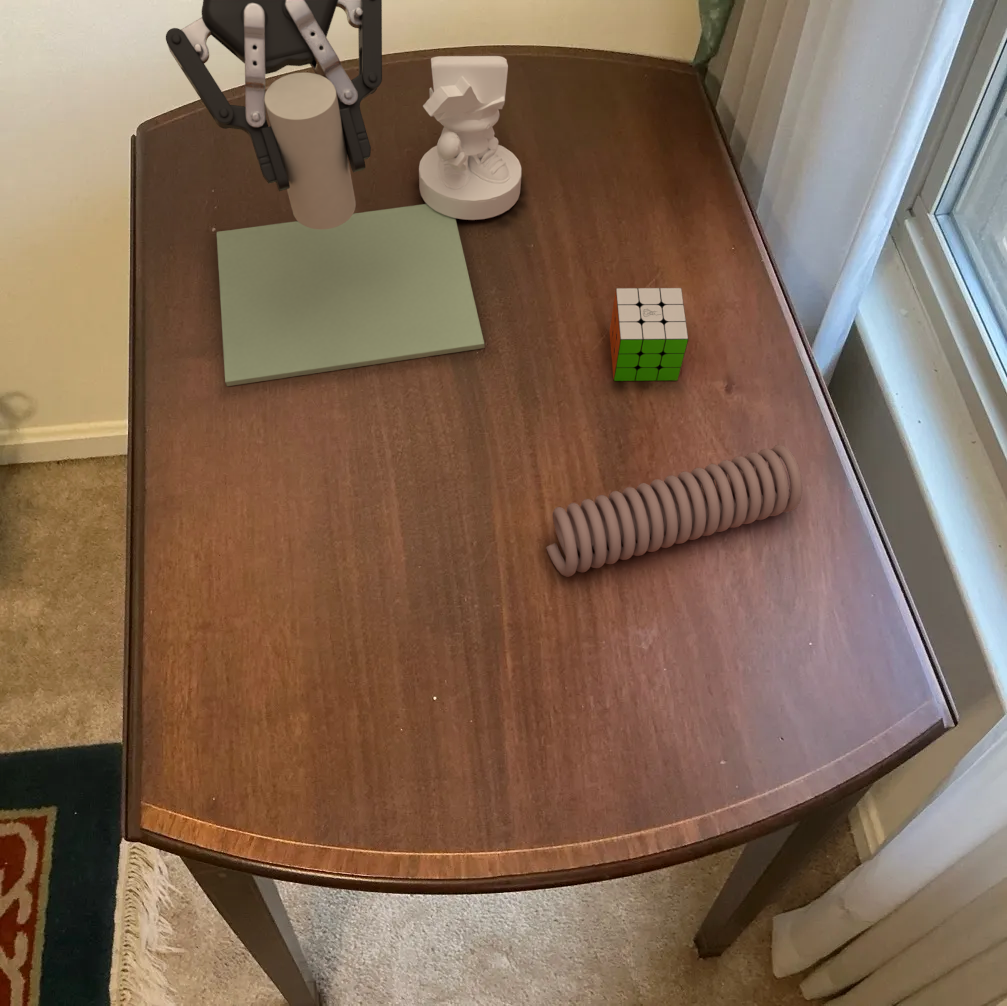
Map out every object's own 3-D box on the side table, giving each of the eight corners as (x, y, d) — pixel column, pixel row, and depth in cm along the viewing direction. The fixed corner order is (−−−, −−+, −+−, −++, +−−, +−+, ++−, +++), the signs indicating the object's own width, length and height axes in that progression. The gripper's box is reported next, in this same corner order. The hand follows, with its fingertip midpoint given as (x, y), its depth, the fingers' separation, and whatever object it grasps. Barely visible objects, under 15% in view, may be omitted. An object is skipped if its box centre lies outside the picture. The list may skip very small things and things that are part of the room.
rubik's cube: (677, 381, 74) (688, 339, 70) (612, 381, 74) (619, 339, 70) (672, 330, 76) (682, 287, 72) (609, 330, 76) (615, 287, 72)
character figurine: (421, 221, 81) (418, 89, 71) (416, 151, 86) (412, 20, 76) (525, 218, 82) (536, 88, 72) (513, 149, 87) (522, 19, 77)
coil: (786, 428, 66) (539, 497, 64) (819, 480, 64) (563, 554, 61) (773, 470, 70) (539, 537, 67) (804, 519, 67) (562, 591, 65)
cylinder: (294, 233, 66) (266, 123, 58) (290, 188, 68) (261, 76, 60) (359, 225, 66) (339, 114, 58) (352, 180, 68) (332, 68, 60)
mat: (226, 386, 74) (224, 382, 73) (218, 236, 81) (216, 231, 81) (484, 348, 75) (484, 343, 75) (451, 205, 83) (451, 200, 83)
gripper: (106, -113, 53) (211, 203, 58) (357, -161, 55) (437, 145, 60) (123, -67, 60) (215, 211, 65) (344, -112, 62) (417, 159, 67)
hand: (322, 178), depth 63 cm, fingers closed on cylinder, 4 cm apart
